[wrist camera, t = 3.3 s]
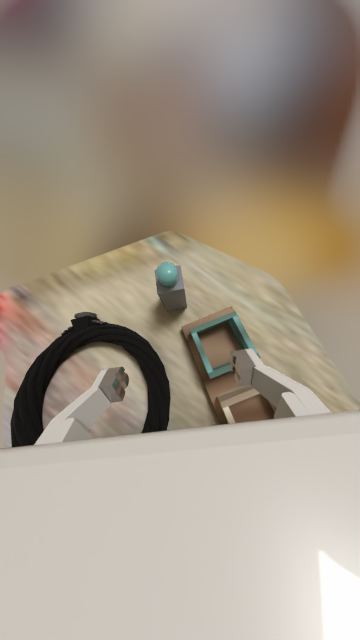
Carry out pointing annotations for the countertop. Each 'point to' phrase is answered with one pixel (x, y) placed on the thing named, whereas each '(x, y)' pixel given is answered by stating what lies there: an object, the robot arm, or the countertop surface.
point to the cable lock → (81, 333)
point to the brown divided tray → (225, 367)
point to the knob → (170, 286)
